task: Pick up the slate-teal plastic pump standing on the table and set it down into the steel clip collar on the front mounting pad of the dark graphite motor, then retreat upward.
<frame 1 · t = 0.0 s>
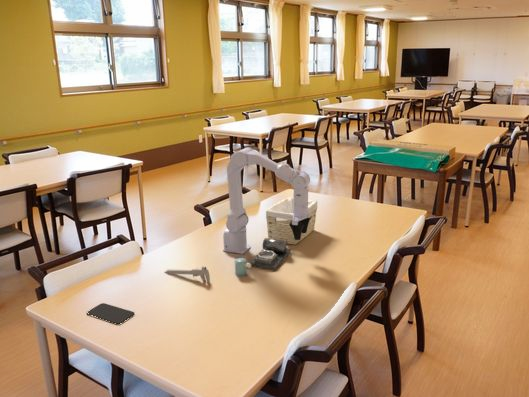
hand: (300, 236, 179), 10 cm above the table, tool pointing down, fingers open, 7 cm apart
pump: (241, 273, 171), on the table
caliper: (186, 278, 169), on the table
storage basket: (292, 235, 207), on the table
motor: (270, 259, 182), on the table
phone: (110, 315, 145), on the table
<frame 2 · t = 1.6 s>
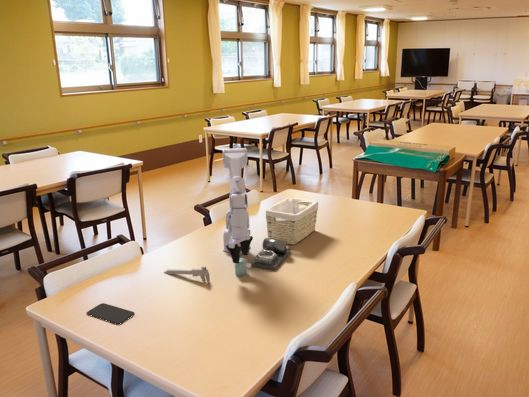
hand: (240, 258, 169), 6 cm above the table, tool pointing down, fingers open, 7 cm apart
nothing on the table moved.
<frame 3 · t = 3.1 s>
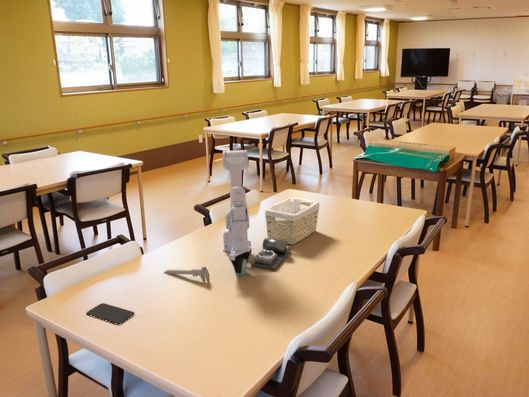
hand: (241, 270, 170), 1 cm above the table, tool pointing down, fingers closed on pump, 4 cm apart
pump: (241, 273, 171), on the table, touching gripper
everything else where it was.
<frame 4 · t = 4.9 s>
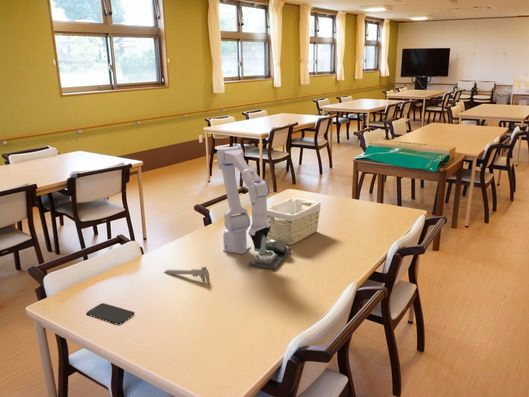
hand: (260, 246, 174), 8 cm above the table, tool pointing down, fingers closed on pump, 4 cm apart
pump: (260, 249, 175), point 7 cm above the table, touching gripper
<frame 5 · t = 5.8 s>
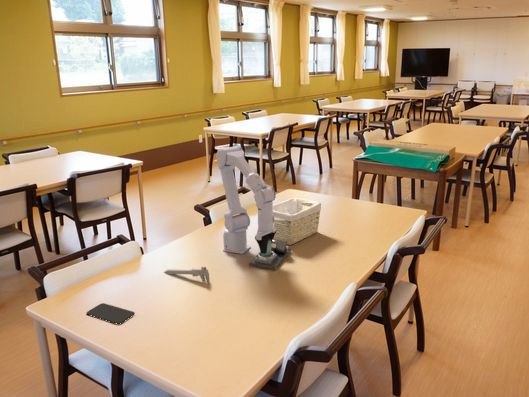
hand: (266, 250, 177), 6 cm above the table, tool pointing down, fingers closed on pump, 4 cm apart
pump: (265, 253, 177), point 4 cm above the table, touching gripper
when the fingers open (5 cm above the table, at t = 6.7 s): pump stays where it is, resting on motor.
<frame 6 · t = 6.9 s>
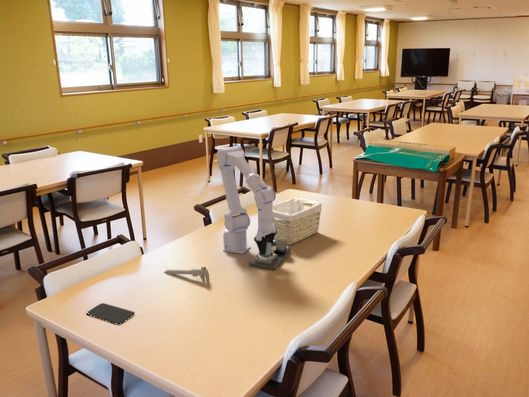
hand: (265, 251, 177), 5 cm above the table, tool pointing down, fingers open, 6 cm apart
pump: (265, 256, 178), point 3 cm above the table, touching motor
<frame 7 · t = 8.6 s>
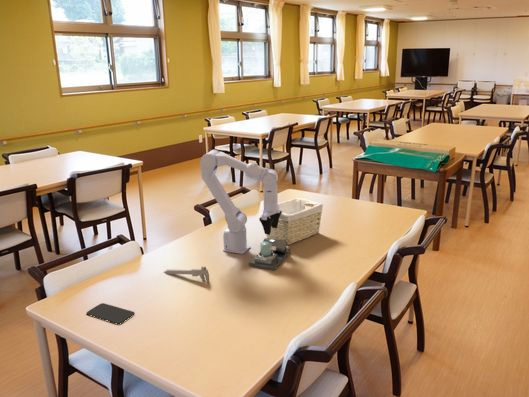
hand: (271, 230, 187), 9 cm above the table, tool pointing down, fingers open, 7 cm apart
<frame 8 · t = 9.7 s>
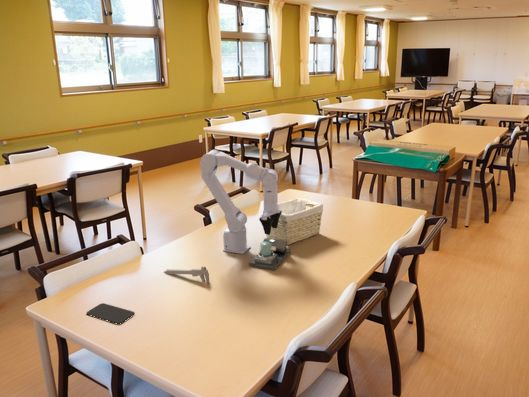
hand: (271, 230, 187), 9 cm above the table, tool pointing down, fingers open, 7 cm apart
at the end: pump 0.1 cm from the target spot on the motor, point 3.0 cm above the motor's base; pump tilted 1°; the gripper is holding nothing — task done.
